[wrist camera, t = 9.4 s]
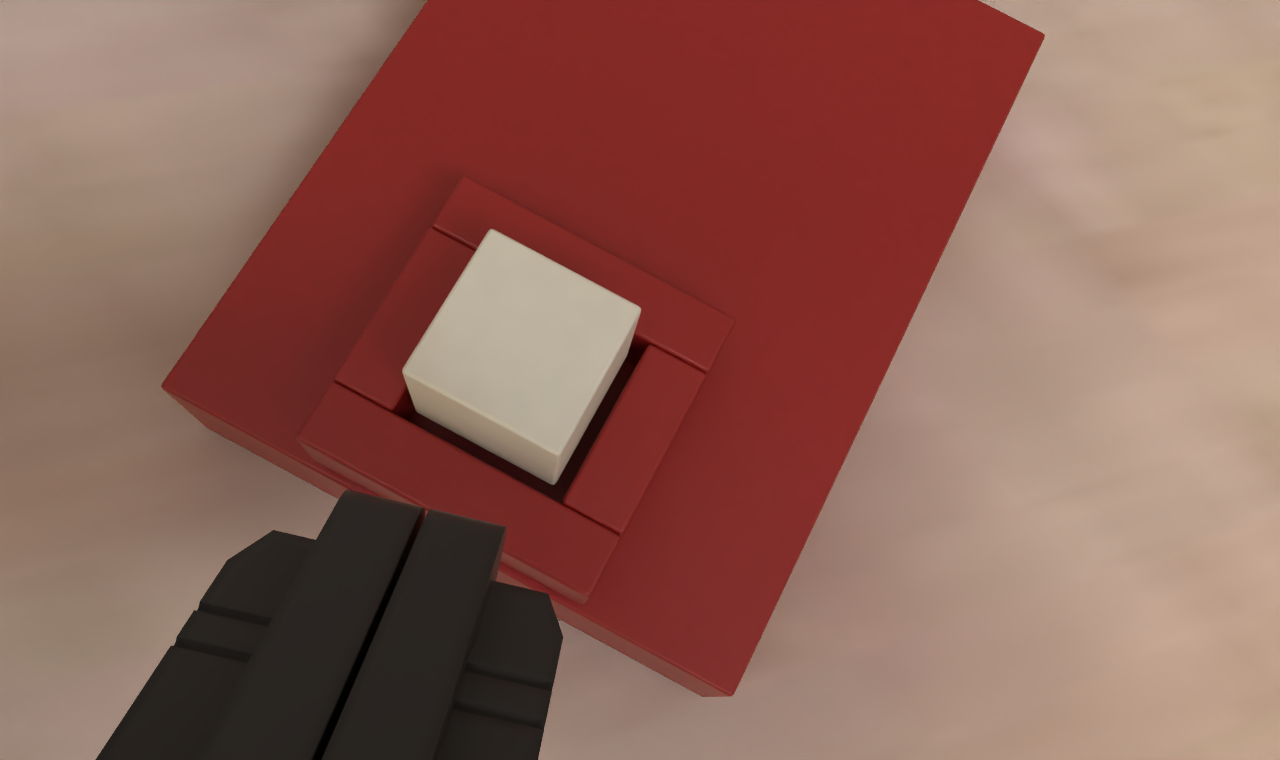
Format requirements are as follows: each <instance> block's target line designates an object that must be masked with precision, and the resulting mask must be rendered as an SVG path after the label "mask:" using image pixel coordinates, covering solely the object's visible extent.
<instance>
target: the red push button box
mask: <svg viewBox="0 0 1280 760" xmlns="http://www.w3.org/2000/svg"><path fill="white" fill-rule="evenodd" d="M1044 36H1045V35H1044V34H1043V33H1041V32H1039V31H1037V30H1035V29H1033V28H1031V27H1029V26H1027V25H1025V24H1023V23H1022V22H1020V21H1018V20H1016V19H1014V18H1012V17H1010V16H1008V15H1006V14H1004V13H1002V12H1000V11H998V10H996V9H994V8H992V7H990V6H988V5H986V4H984V3H982V2H981V1H979V0H428V1H427V2H426V3H425V5H424V6H423V8H422V9H421V11H420V12H419V14H418V15H417V16H416V18H415V19H414V21H413V22H412V24H411V25H410V27H409V28H408V29H407V31H406V32H405V34H404V35H403V37H402V38H401V40H400V41H399V42H398V44H397V45H396V47H395V48H394V50H393V51H392V53H391V54H390V55H389V57H388V58H387V60H386V61H385V63H384V64H383V66H382V67H381V68H380V70H379V71H378V73H377V74H376V76H375V77H374V79H373V80H372V81H371V83H370V84H369V86H368V87H367V89H366V90H365V92H364V93H363V94H362V96H361V97H360V99H359V100H358V102H357V103H356V105H355V106H354V107H353V109H352V110H351V112H350V113H349V115H348V116H347V118H346V119H345V120H344V122H343V123H342V125H341V126H340V128H339V129H338V131H337V132H336V133H335V135H334V136H333V138H332V139H331V141H330V142H329V144H328V145H327V146H326V148H325V149H324V151H323V152H322V154H321V155H320V157H319V158H318V159H317V161H316V162H315V164H314V165H313V167H312V168H311V170H310V171H309V172H308V174H307V175H306V177H305V178H304V180H303V181H302V183H301V184H300V185H299V187H298V188H297V190H296V191H295V193H294V194H293V196H292V197H291V198H290V200H289V201H288V203H287V204H286V206H285V207H284V209H283V210H282V211H281V213H280V214H279V216H278V217H277V219H276V220H275V222H274V223H273V224H272V226H271V227H270V229H269V230H268V232H267V233H266V235H265V236H264V237H263V239H262V240H261V242H260V243H259V245H258V246H257V248H256V249H255V250H254V252H253V253H252V255H251V256H250V258H249V259H248V261H247V262H246V263H245V265H244V266H243V268H242V269H241V271H240V272H239V274H238V275H237V276H236V278H235V279H234V281H233V282H232V284H231V285H230V287H229V288H228V289H227V291H226V292H225V294H224V295H223V297H222V298H221V300H220V301H219V302H218V304H217V305H216V307H215V308H214V310H213V311H212V313H211V314H210V315H209V317H208V318H207V320H206V321H205V323H204V324H203V326H202V327H201V328H200V330H199V331H198V333H197V334H196V336H195V337H194V339H193V340H192V341H191V343H190V344H189V346H188V347H187V349H186V350H185V352H184V353H183V354H182V356H181V357H180V359H179V360H178V362H177V363H176V365H175V366H174V367H173V369H172V370H171V372H170V373H169V375H168V376H167V378H166V379H165V380H164V382H163V383H162V386H161V387H162V388H163V389H164V390H165V391H166V392H167V393H168V394H169V395H170V396H172V397H173V398H174V399H175V400H176V401H177V402H178V403H180V404H181V405H182V406H183V407H184V408H185V409H186V410H188V411H189V412H190V413H191V414H192V415H193V416H194V417H196V418H197V419H198V420H199V421H200V422H201V423H202V424H204V425H205V426H206V427H207V428H209V429H211V430H213V431H214V432H216V433H218V434H220V435H222V436H224V437H226V438H227V439H229V440H231V441H233V442H235V443H237V444H238V445H240V446H242V447H244V448H246V449H248V450H249V451H251V452H253V453H255V454H257V455H259V456H261V457H262V458H264V459H266V460H268V461H270V462H272V463H273V464H275V465H277V466H279V467H281V468H283V469H284V470H286V471H288V472H290V473H292V474H294V475H295V476H297V477H299V478H301V479H303V480H305V481H307V482H308V483H310V484H312V485H314V486H316V487H318V488H319V489H321V490H323V491H325V492H327V493H329V494H330V495H332V496H334V497H336V498H338V499H339V498H340V497H341V495H342V494H343V493H344V491H346V490H352V491H356V492H360V493H365V494H369V495H373V496H377V497H382V498H386V499H390V500H395V501H399V502H403V503H407V504H412V505H416V506H420V507H424V508H425V517H426V514H427V513H428V511H429V510H430V509H435V510H439V511H443V512H447V513H452V514H456V515H460V516H465V517H469V518H473V519H477V520H482V521H486V522H490V523H495V524H499V525H503V526H507V529H506V536H505V541H504V546H503V551H502V556H501V560H500V565H499V570H498V575H497V579H496V581H497V582H501V583H505V584H510V585H514V586H518V587H523V588H527V589H531V590H536V591H540V592H544V593H549V596H550V599H551V602H552V605H553V608H554V611H555V614H556V617H557V618H559V619H561V620H562V621H564V622H566V623H568V624H570V625H572V626H573V627H575V628H577V629H579V630H581V631H583V632H584V633H586V634H588V635H590V636H592V637H594V638H596V639H597V640H599V641H601V642H603V643H605V644H607V645H608V646H610V647H612V648H614V649H616V650H618V651H619V652H621V653H623V654H625V655H627V656H629V657H631V658H632V659H634V660H636V661H638V662H640V663H642V664H643V665H645V666H647V667H649V668H651V669H653V670H654V671H656V672H658V673H660V674H662V675H664V676H665V677H667V678H669V679H671V680H673V681H675V682H677V683H678V684H680V685H682V686H684V687H686V688H688V689H689V690H691V691H693V692H695V693H697V694H699V695H700V696H702V697H719V696H733V695H734V693H735V691H736V689H737V686H738V684H739V682H740V680H741V678H742V676H743V674H744V672H745V670H746V667H747V665H748V663H749V661H750V659H751V657H752V655H753V653H754V651H755V648H756V646H757V644H758V642H759V640H760V638H761V636H762V634H763V632H764V629H765V627H766V625H767V623H768V621H769V619H770V617H771V615H772V612H773V610H774V608H775V606H776V604H777V602H778V600H779V598H780V596H781V593H782V591H783V589H784V587H785V585H786V583H787V581H788V579H789V577H790V574H791V572H792V570H793V568H794V566H795V564H796V562H797V560H798V558H799V555H800V553H801V551H802V549H803V547H804V545H805V543H806V541H807V539H808V536H809V534H810V532H811V530H812V528H813V526H814V524H815V522H816V519H817V517H818V515H819V513H820V511H821V509H822V507H823V505H824V503H825V500H826V498H827V496H828V494H829V492H830V490H831V488H832V486H833V484H834V481H835V479H836V477H837V475H838V473H839V471H840V469H841V467H842V465H843V462H844V460H845V458H846V456H847V454H848V452H849V450H850V448H851V446H852V443H853V441H854V439H855V437H856V435H857V433H858V431H859V429H860V426H861V424H862V422H863V420H864V418H865V416H866V414H867V412H868V410H869V407H870V405H871V403H872V401H873V399H874V397H875V395H876V393H877V391H878V388H879V386H880V384H881V382H882V380H883V378H884V376H885V374H886V372H887V369H888V367H889V365H890V363H891V361H892V359H893V357H894V355H895V353H896V350H897V348H898V346H899V344H900V342H901V340H902V338H903V336H904V333H905V331H906V329H907V327H908V325H909V323H910V321H911V319H912V317H913V314H914V312H915V310H916V308H917V306H918V304H919V302H920V300H921V298H922V295H923V293H924V291H925V289H926V287H927V285H928V283H929V281H930V279H931V276H932V274H933V272H934V270H935V268H936V266H937V264H938V262H939V259H940V257H941V255H942V253H943V251H944V249H945V247H946V245H947V243H948V240H949V238H950V236H951V234H952V232H953V230H954V228H955V226H956V224H957V221H958V219H959V217H960V215H961V213H962V211H963V209H964V207H965V205H966V202H967V200H968V198H969V196H970V194H971V192H972V190H973V188H974V186H975V183H976V181H977V179H978V177H979V175H980V173H981V171H982V169H983V166H984V164H985V162H986V160H987V158H988V156H989V154H990V152H991V150H992V147H993V145H994V143H995V141H996V139H997V137H998V135H999V133H1000V131H1001V128H1002V126H1003V124H1004V122H1005V120H1006V118H1007V116H1008V114H1009V112H1010V109H1011V107H1012V105H1013V103H1014V101H1015V99H1016V97H1017V95H1018V93H1019V90H1020V88H1021V86H1022V84H1023V82H1024V80H1025V78H1026V76H1027V73H1028V71H1029V69H1030V67H1031V65H1032V63H1033V61H1034V59H1035V57H1036V54H1037V52H1038V50H1039V48H1040V46H1041V44H1042V42H1043V40H1044ZM490 229H494V230H496V231H498V232H500V233H502V234H504V235H505V236H507V237H509V238H511V239H513V240H515V241H517V242H519V243H521V244H522V245H524V246H526V247H528V248H530V249H532V250H534V251H536V252H538V253H539V254H541V255H543V256H545V257H547V258H549V259H551V260H553V261H555V262H556V263H558V264H560V265H562V266H564V267H566V268H568V269H570V270H572V271H573V272H575V273H577V274H579V275H581V276H583V277H585V278H587V279H589V280H590V281H592V282H594V283H596V284H598V285H600V286H602V287H604V288H605V289H607V290H609V291H611V292H613V293H615V294H617V295H619V296H621V297H622V298H624V299H626V300H628V301H630V302H632V303H634V304H636V305H638V306H639V307H640V308H641V313H640V316H639V319H638V323H637V326H636V329H635V332H634V335H633V338H632V341H631V345H630V348H629V351H628V354H627V357H626V358H625V360H624V362H623V364H622V366H621V367H620V369H619V371H618V373H617V375H616V376H615V378H614V380H613V382H612V384H611V385H610V387H609V389H608V391H607V393H606V394H605V396H604V398H603V400H602V402H601V403H600V405H599V407H598V409H597V411H596V412H595V414H594V416H593V418H592V420H591V421H590V423H589V425H588V427H587V429H586V430H585V432H584V434H583V436H582V438H581V439H580V441H579V443H578V445H577V447H576V448H575V450H574V452H573V454H572V456H571V457H570V459H569V461H568V463H567V465H566V466H565V468H564V470H563V472H562V474H561V475H560V477H559V479H558V481H557V483H555V484H554V485H552V484H549V483H547V482H546V481H544V480H542V479H540V478H538V477H536V476H534V475H533V474H531V473H529V472H527V471H525V470H523V469H521V468H520V467H518V466H516V465H514V464H512V463H510V462H508V461H507V460H505V459H503V458H501V457H499V456H497V455H495V454H494V453H492V452H490V451H488V450H486V449H484V448H482V447H481V446H479V445H477V444H475V443H473V442H471V441H469V440H468V439H466V438H464V437H462V436H460V435H458V434H456V433H455V432H453V431H451V430H449V429H447V428H445V427H443V426H442V425H440V424H438V423H436V422H434V421H432V420H430V419H429V418H427V417H425V416H423V415H421V414H419V413H417V411H416V410H415V407H414V404H413V401H412V398H411V396H410V393H409V390H408V387H407V384H406V381H405V379H404V376H403V373H402V370H403V367H404V366H405V364H406V362H407V361H408V359H409V358H410V356H411V354H412V353H413V351H414V350H415V348H416V346H417V345H418V343H419V342H420V340H421V338H422V337H423V335H424V333H425V332H426V330H427V329H428V327H429V325H430V324H431V322H432V321H433V319H434V317H435V316H436V314H437V313H438V311H439V309H440V308H441V306H442V305H443V303H444V301H445V300H446V298H447V296H448V295H449V293H450V292H451V290H452V288H453V287H454V285H455V284H456V282H457V280H458V279H459V277H460V276H461V274H462V272H463V271H464V269H465V268H466V266H467V264H468V263H469V261H470V259H471V258H472V256H473V255H474V253H475V251H476V250H477V248H478V247H479V245H480V243H481V242H482V240H483V239H484V237H485V235H486V234H487V232H488V231H489V230H490Z"/></svg>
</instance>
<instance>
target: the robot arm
mask: <svg viewBox="0 0 1280 760" xmlns="http://www.w3.org/2000/svg"><path fill="white" fill-rule="evenodd" d="M506 529H507V526H503V525H499V524H495V523H490V522H486V521H482V520H477V519H473V518H469V517H465V516H460V515H456V514H452V513H447V512H443V511H439V510H435V509H430V510H429V511H428V513H427V514H426V517H425V508H424V507H420V506H416V505H412V504H407V503H403V502H399V501H395V500H390V499H386V498H382V497H377V496H373V495H369V494H365V493H360V492H356V491H352V490H346V491H344V493H343V494H342V495H341V497H340V498H339V500H338V502H337V504H336V505H335V507H334V509H333V511H332V513H331V514H330V516H329V518H328V520H327V522H326V523H325V525H324V527H323V529H322V530H321V532H320V534H319V536H318V538H317V539H316V540H314V539H309V538H305V537H301V536H296V535H292V534H288V533H283V532H279V531H275V530H273V531H271V532H270V533H268V534H267V535H265V536H264V537H262V538H261V539H259V540H258V541H256V542H255V543H253V544H251V545H250V546H248V547H247V548H245V549H244V550H242V551H241V552H239V553H238V554H236V555H235V556H233V557H231V558H230V559H228V560H227V561H226V563H225V564H224V566H223V567H222V569H221V570H220V572H219V573H218V575H217V577H216V578H215V580H214V581H213V583H212V584H211V586H210V587H209V589H208V590H207V592H206V593H205V595H204V596H203V598H202V599H201V601H200V604H199V607H198V610H197V611H196V610H194V611H193V613H192V614H191V616H190V617H189V619H188V621H187V622H186V624H185V625H184V627H183V628H182V630H181V631H180V633H179V634H178V636H177V639H176V642H175V645H174V646H170V648H169V649H168V651H167V652H166V654H165V655H164V657H163V658H162V660H161V661H160V663H159V665H158V666H157V668H156V669H155V671H154V672H153V674H152V675H151V677H150V678H149V680H148V681H147V683H146V684H145V686H144V687H143V689H142V690H141V692H140V693H139V695H138V696H137V698H136V699H135V701H134V702H133V704H132V705H131V707H130V709H129V710H128V712H127V713H126V715H125V716H124V718H123V719H122V721H121V722H120V724H119V725H118V727H117V728H116V730H115V731H114V733H113V734H112V736H111V737H110V739H109V740H108V742H107V743H106V745H105V746H104V748H103V749H102V751H101V753H100V754H99V756H98V757H97V759H96V760H538V756H539V752H540V747H541V742H542V737H543V732H544V726H545V722H546V718H547V713H548V708H549V703H550V698H551V693H552V687H553V683H554V679H555V674H556V669H557V664H558V659H559V654H560V650H561V645H562V640H563V635H562V632H561V629H560V626H559V623H558V620H557V617H556V614H555V611H554V608H553V605H552V602H551V599H550V596H549V593H544V592H540V591H536V590H531V589H527V588H523V587H518V586H514V585H510V584H505V583H501V582H497V581H496V579H497V575H498V570H499V565H500V560H501V556H502V551H503V546H504V541H505V536H506Z"/></svg>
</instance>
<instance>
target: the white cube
mask: <svg viewBox="0 0 1280 760" xmlns="http://www.w3.org/2000/svg"><path fill="white" fill-rule="evenodd" d="M640 313H641V308H640V307H639V306H638V305H636V304H634V303H632V302H630V301H628V300H626V299H624V298H622V297H621V296H619V295H617V294H615V293H613V292H611V291H609V290H607V289H605V288H604V287H602V286H600V285H598V284H596V283H594V282H592V281H590V280H589V279H587V278H585V277H583V276H581V275H579V274H577V273H575V272H573V271H572V270H570V269H568V268H566V267H564V266H562V265H560V264H558V263H556V262H555V261H553V260H551V259H549V258H547V257H545V256H543V255H541V254H539V253H538V252H536V251H534V250H532V249H530V248H528V247H526V246H524V245H522V244H521V243H519V242H517V241H515V240H513V239H511V238H509V237H507V236H505V235H504V234H502V233H500V232H498V231H496V230H494V229H490V230H489V231H488V232H487V234H486V235H485V237H484V239H483V240H482V242H481V243H480V245H479V247H478V248H477V250H476V251H475V253H474V255H473V256H472V258H471V259H470V261H469V263H468V264H467V266H466V268H465V269H464V271H463V272H462V274H461V276H460V277H459V279H458V280H457V282H456V284H455V285H454V287H453V288H452V290H451V292H450V293H449V295H448V296H447V298H446V300H445V301H444V303H443V305H442V306H441V308H440V309H439V311H438V313H437V314H436V316H435V317H434V319H433V321H432V322H431V324H430V325H429V327H428V329H427V330H426V332H425V333H424V335H423V337H422V338H421V340H420V342H419V343H418V345H417V346H416V348H415V350H414V351H413V353H412V354H411V356H410V358H409V359H408V361H407V362H406V364H405V366H404V367H403V370H402V373H403V376H404V379H405V381H406V384H407V387H408V390H409V393H410V396H411V398H412V401H413V404H414V407H415V410H416V411H417V413H419V414H421V415H423V416H425V417H427V418H429V419H430V420H432V421H434V422H436V423H438V424H440V425H442V426H443V427H445V428H447V429H449V430H451V431H453V432H455V433H456V434H458V435H460V436H462V437H464V438H466V439H468V440H469V441H471V442H473V443H475V444H477V445H479V446H481V447H482V448H484V449H486V450H488V451H490V452H492V453H494V454H495V455H497V456H499V457H501V458H503V459H505V460H507V461H508V462H510V463H512V464H514V465H516V466H518V467H520V468H521V469H523V470H525V471H527V472H529V473H531V474H533V475H534V476H536V477H538V478H540V479H542V480H544V481H546V482H547V483H549V484H552V485H554V484H555V483H557V481H558V479H559V477H560V475H561V474H562V472H563V470H564V468H565V466H566V465H567V463H568V461H569V459H570V457H571V456H572V454H573V452H574V450H575V448H576V447H577V445H578V443H579V441H580V439H581V438H582V436H583V434H584V432H585V430H586V429H587V427H588V425H589V423H590V421H591V420H592V418H593V416H594V414H595V412H596V411H597V409H598V407H599V405H600V403H601V402H602V400H603V398H604V396H605V394H606V393H607V391H608V389H609V387H610V385H611V384H612V382H613V380H614V378H615V376H616V375H617V373H618V371H619V369H620V367H621V366H622V364H623V362H624V360H625V358H626V357H627V354H628V351H629V348H630V345H631V341H632V338H633V335H634V332H635V329H636V326H637V323H638V319H639V316H640Z"/></svg>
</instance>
